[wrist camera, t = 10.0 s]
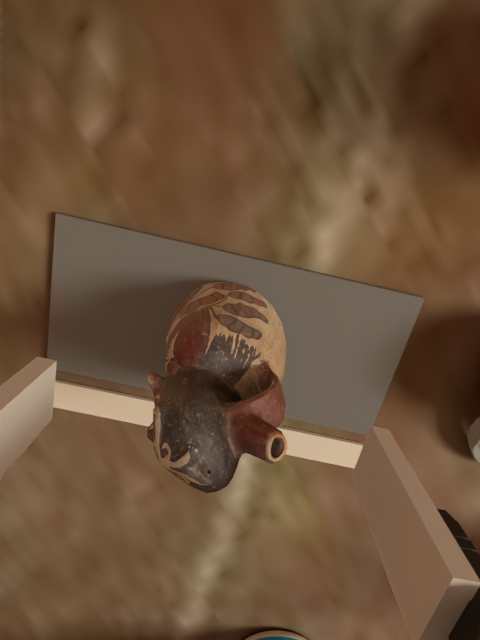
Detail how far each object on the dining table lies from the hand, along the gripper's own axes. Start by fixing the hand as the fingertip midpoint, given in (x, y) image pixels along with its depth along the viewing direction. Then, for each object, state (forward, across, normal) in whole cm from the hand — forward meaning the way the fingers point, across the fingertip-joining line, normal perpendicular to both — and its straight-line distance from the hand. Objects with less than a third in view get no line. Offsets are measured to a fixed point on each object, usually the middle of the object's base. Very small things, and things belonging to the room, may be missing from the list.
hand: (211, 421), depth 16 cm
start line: (+9, 0, +6) cm, 11 cm away
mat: (+9, 0, -1) cm, 9 cm away
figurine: (+9, 0, -1) cm, 9 cm away
